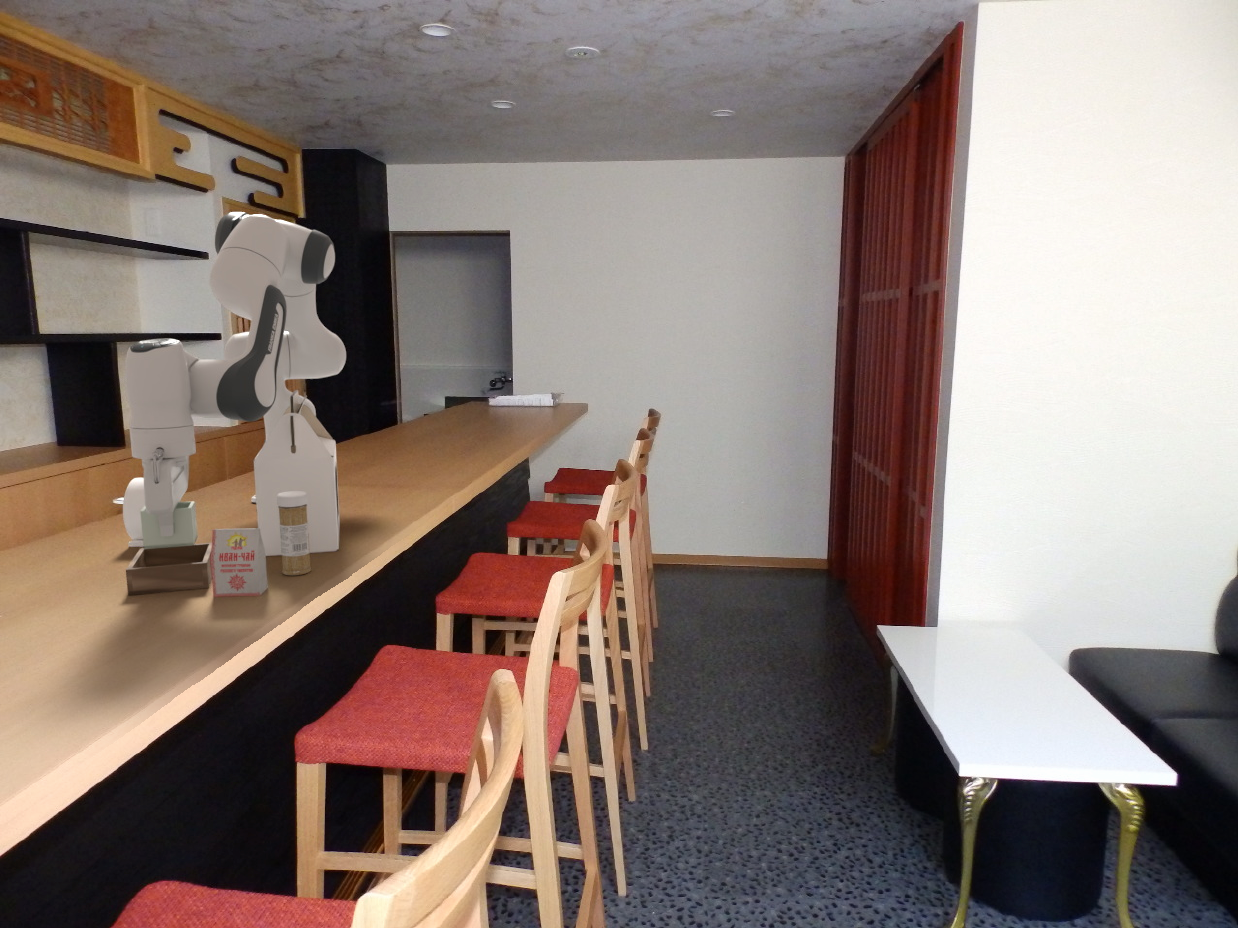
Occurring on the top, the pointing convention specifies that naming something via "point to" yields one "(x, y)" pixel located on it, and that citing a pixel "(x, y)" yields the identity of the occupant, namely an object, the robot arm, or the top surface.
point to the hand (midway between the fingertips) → (171, 530)
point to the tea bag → (238, 562)
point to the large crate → (170, 569)
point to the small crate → (182, 524)
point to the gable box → (298, 478)
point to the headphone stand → (134, 511)
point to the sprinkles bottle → (294, 532)
